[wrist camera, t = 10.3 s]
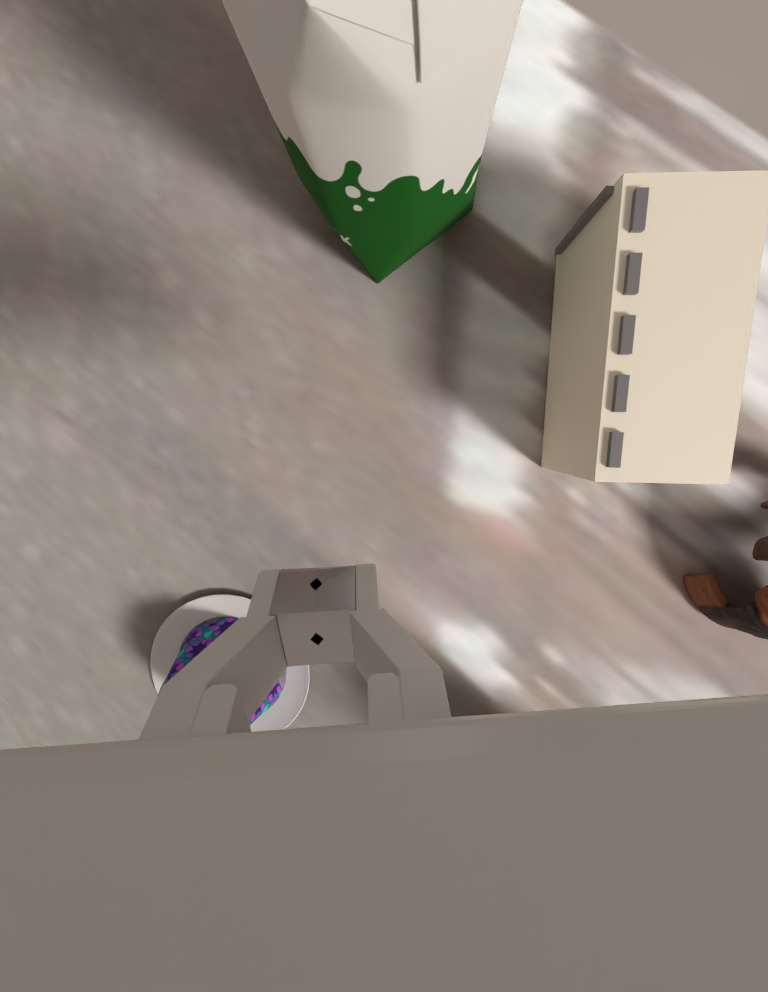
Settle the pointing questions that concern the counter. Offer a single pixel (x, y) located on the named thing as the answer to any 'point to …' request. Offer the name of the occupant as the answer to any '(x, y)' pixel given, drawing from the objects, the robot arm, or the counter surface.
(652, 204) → the block
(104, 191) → the counter surface
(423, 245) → the soya milk
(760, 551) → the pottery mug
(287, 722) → the pudding
